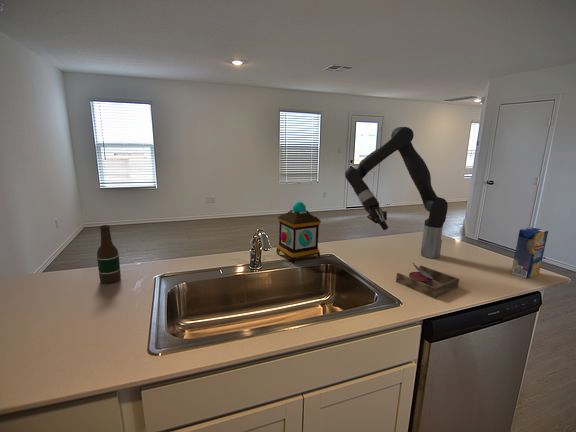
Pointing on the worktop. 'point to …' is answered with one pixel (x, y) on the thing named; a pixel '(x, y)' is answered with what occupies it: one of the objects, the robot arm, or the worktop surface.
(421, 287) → the box
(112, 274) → the beer bottle
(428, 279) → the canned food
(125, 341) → the worktop surface
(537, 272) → the beverage box
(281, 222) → the decorative lantern
